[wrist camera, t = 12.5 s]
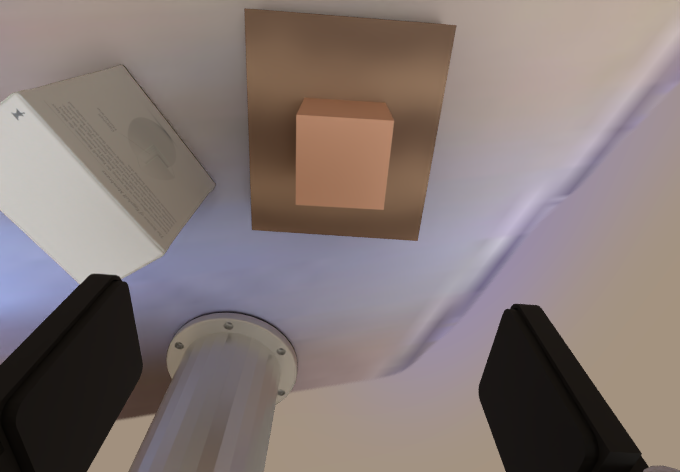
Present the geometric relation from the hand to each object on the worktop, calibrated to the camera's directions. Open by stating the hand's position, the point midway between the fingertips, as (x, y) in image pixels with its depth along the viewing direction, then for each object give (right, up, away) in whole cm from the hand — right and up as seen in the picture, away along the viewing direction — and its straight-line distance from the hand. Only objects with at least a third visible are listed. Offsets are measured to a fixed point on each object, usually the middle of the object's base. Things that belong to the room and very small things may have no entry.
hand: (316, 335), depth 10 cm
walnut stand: (+1, +11, +20) cm, 22 cm away
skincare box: (-14, +9, +21) cm, 27 cm away
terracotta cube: (+1, +9, +16) cm, 18 cm away
